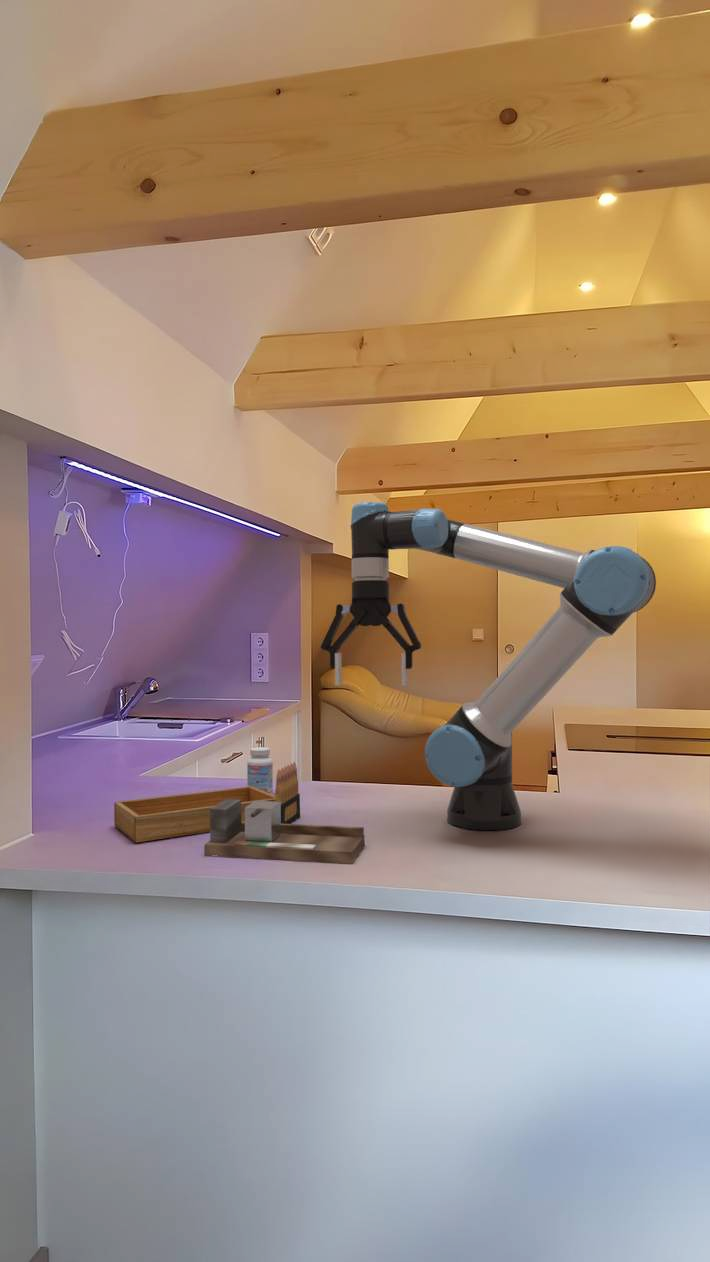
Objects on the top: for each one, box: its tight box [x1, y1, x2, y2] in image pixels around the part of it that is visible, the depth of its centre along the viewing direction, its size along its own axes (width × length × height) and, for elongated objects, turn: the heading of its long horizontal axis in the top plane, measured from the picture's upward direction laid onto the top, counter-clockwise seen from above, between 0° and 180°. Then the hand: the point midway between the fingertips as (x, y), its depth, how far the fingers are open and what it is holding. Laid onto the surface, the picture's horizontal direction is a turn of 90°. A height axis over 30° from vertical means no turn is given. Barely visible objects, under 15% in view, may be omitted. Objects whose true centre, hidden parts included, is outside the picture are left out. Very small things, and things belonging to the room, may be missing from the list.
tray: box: [113, 785, 275, 843], centre depth 161 cm, size 31×15×6 cm, turn 122°
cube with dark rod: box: [245, 801, 281, 842], centre depth 141 cm, size 5×9×6 cm, turn 168°
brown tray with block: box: [203, 799, 366, 865], centre depth 141 cm, size 27×11×8 cm, turn 78°
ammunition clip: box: [274, 761, 301, 824], centre depth 161 cm, size 11×2×12 cm, turn 164°
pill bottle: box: [246, 746, 274, 795], centre depth 187 cm, size 6×6×11 cm
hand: (371, 685), depth 157 cm, fingers open, 13 cm apart
